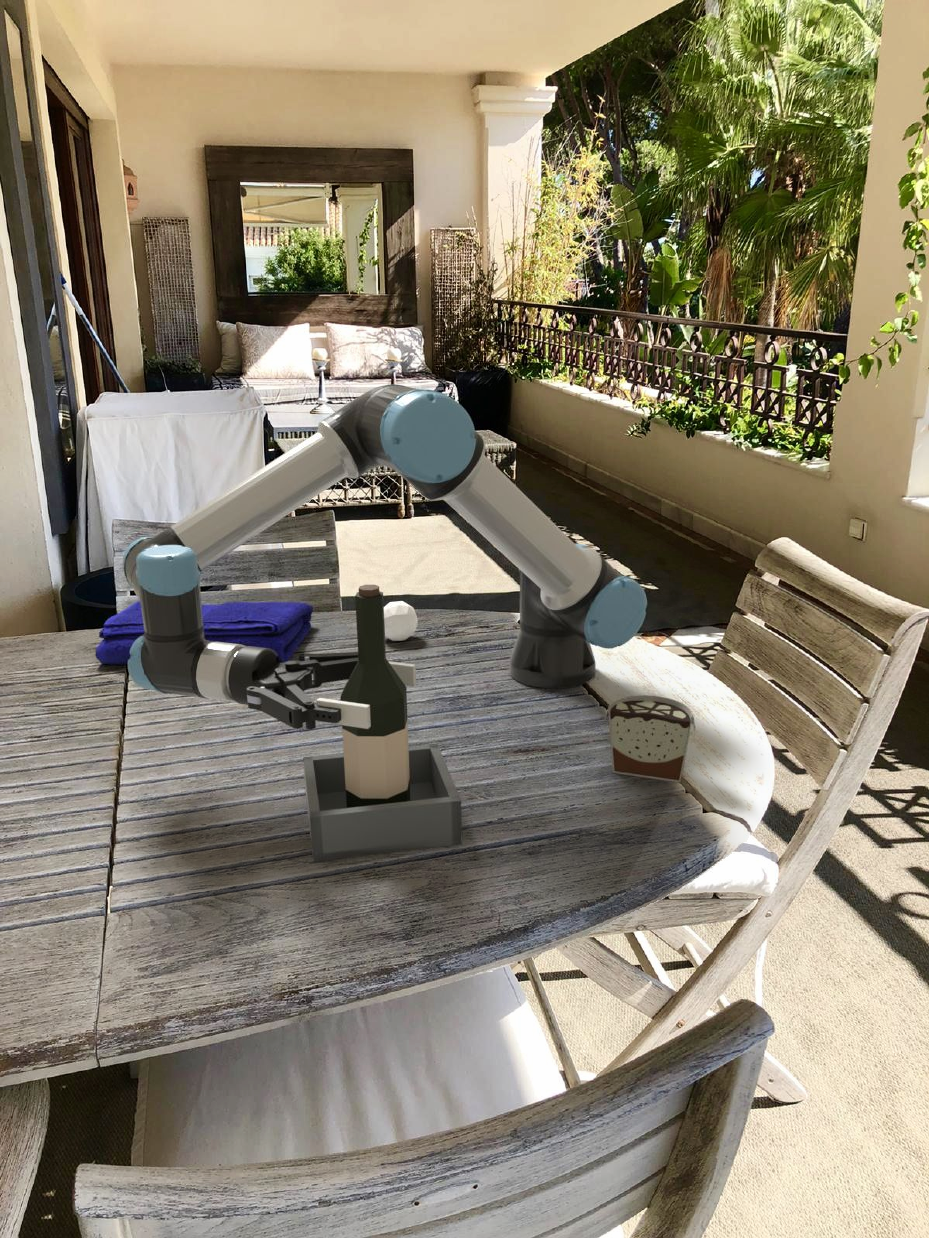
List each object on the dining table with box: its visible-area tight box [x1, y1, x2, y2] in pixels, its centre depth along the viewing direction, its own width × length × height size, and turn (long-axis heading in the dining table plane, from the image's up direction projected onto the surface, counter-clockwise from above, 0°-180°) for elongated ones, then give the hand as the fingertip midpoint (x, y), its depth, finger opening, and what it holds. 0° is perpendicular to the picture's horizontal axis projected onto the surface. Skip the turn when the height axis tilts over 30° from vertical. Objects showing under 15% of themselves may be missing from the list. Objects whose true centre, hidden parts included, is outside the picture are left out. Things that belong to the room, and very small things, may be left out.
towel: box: [95, 600, 314, 666], centre depth 188 cm, size 26×36×9 cm
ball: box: [384, 600, 419, 642], centre depth 190 cm, size 8×8×8 cm
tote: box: [302, 743, 463, 863], centre depth 124 cm, size 18×16×6 cm
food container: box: [603, 694, 696, 783], centre depth 137 cm, size 12×6×10 cm, turn 71°
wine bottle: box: [340, 584, 410, 808], centre depth 120 cm, size 8×8×30 cm
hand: (393, 695), depth 119 cm, fingers open, 13 cm apart
